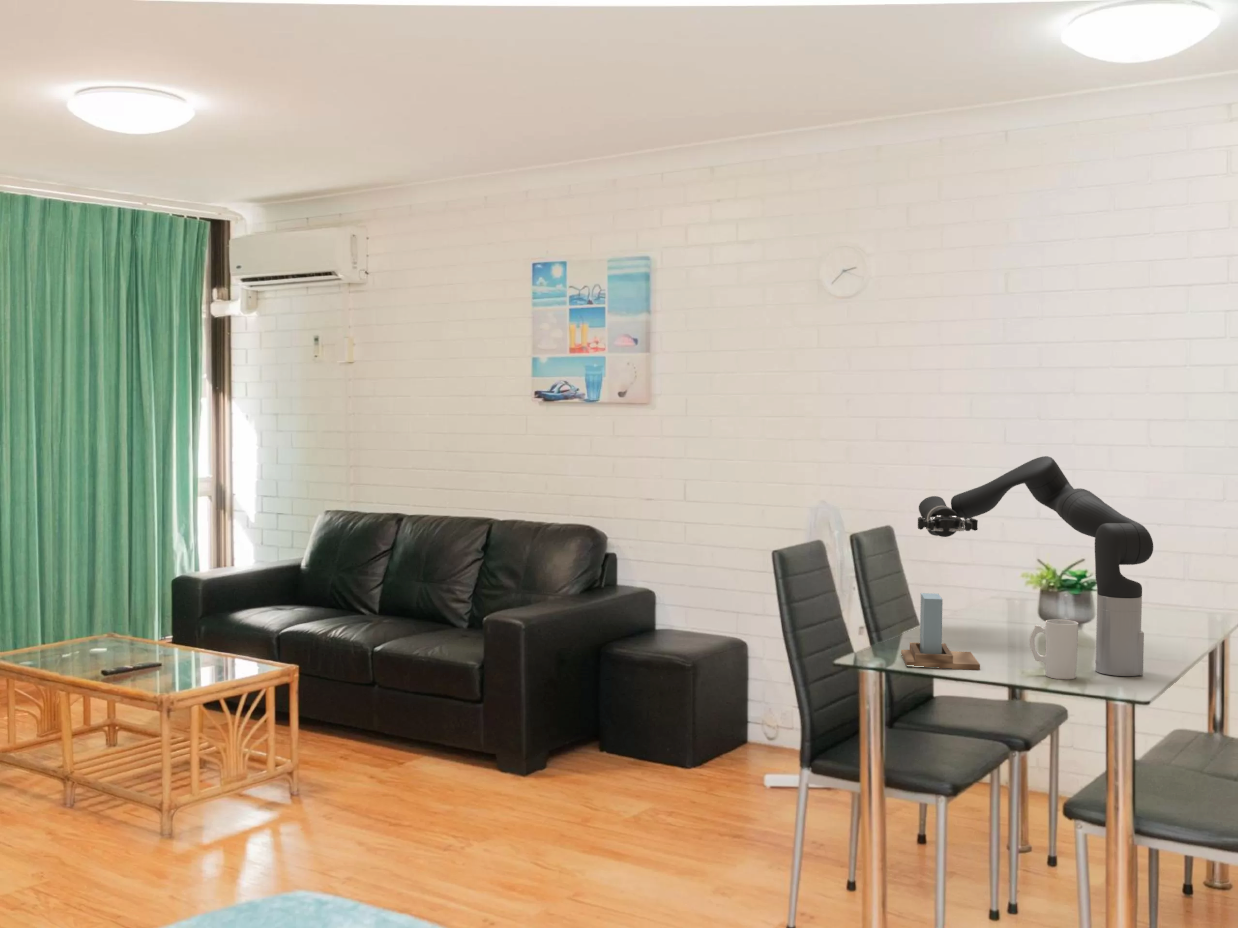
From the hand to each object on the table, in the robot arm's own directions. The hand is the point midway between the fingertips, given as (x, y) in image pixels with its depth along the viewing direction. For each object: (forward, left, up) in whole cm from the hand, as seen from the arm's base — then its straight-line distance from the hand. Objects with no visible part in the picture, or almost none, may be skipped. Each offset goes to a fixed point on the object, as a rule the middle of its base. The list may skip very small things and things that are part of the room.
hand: (950, 526), depth 297 cm
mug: (-19, +28, -30) cm, 45 cm away
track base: (+4, +17, -30) cm, 35 cm away
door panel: (+6, +17, -29) cm, 34 cm away
